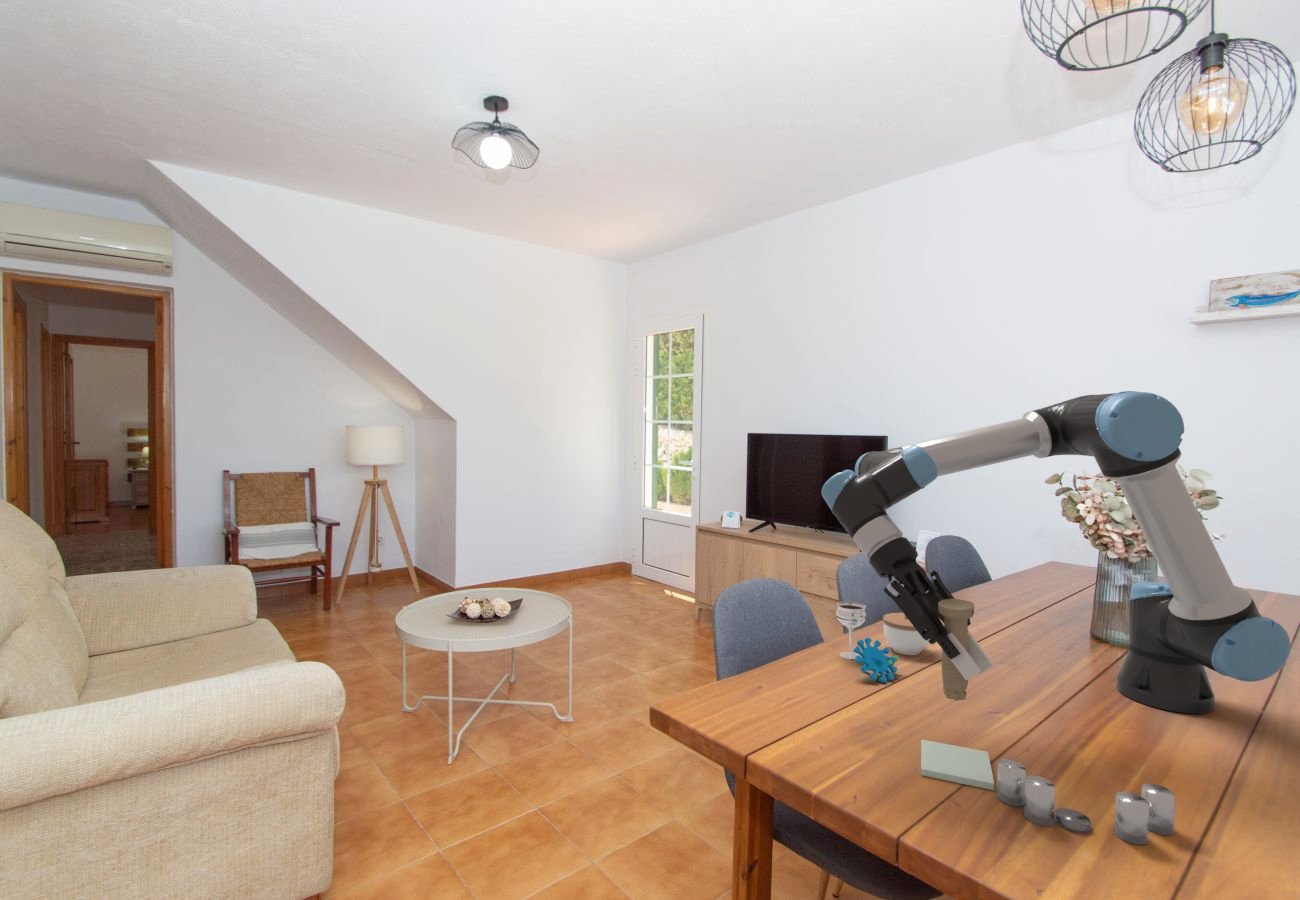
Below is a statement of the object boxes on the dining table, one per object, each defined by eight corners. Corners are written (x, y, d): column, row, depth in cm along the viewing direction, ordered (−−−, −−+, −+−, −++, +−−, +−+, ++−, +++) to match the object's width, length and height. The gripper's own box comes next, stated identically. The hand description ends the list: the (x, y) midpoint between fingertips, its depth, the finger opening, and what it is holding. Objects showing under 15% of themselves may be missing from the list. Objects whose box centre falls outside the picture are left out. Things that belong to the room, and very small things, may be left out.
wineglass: (850, 663, 143) (851, 611, 142) (829, 653, 149) (829, 603, 148) (871, 657, 146) (872, 607, 145) (850, 648, 152) (850, 600, 151)
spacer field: (1168, 822, 85) (1169, 787, 85) (1190, 859, 78) (1192, 820, 78) (995, 787, 93) (996, 754, 93) (1001, 816, 86) (1002, 781, 86)
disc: (1084, 820, 86) (1085, 811, 86) (1094, 838, 82) (1095, 829, 82) (1051, 814, 87) (1051, 805, 87) (1059, 831, 84) (1060, 822, 84)
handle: (931, 699, 98) (932, 605, 98) (946, 686, 103) (947, 597, 102) (963, 708, 95) (965, 611, 94) (977, 695, 99) (979, 602, 99)
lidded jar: (881, 655, 148) (882, 616, 147) (883, 640, 158) (883, 604, 157) (931, 661, 144) (932, 621, 143) (929, 646, 154) (930, 609, 153)
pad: (987, 757, 102) (987, 751, 102) (994, 790, 93) (994, 783, 92) (921, 745, 106) (921, 739, 106) (920, 775, 97) (920, 768, 97)
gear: (866, 679, 129) (850, 635, 136) (851, 691, 133) (836, 647, 140) (910, 680, 132) (892, 637, 139) (894, 692, 136) (877, 649, 143)
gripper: (898, 554, 115) (988, 671, 103) (843, 566, 106) (934, 697, 93) (926, 530, 111) (1024, 649, 98) (871, 540, 101) (971, 673, 88)
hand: (980, 672), depth 95 cm, fingers closed on handle, 3 cm apart
